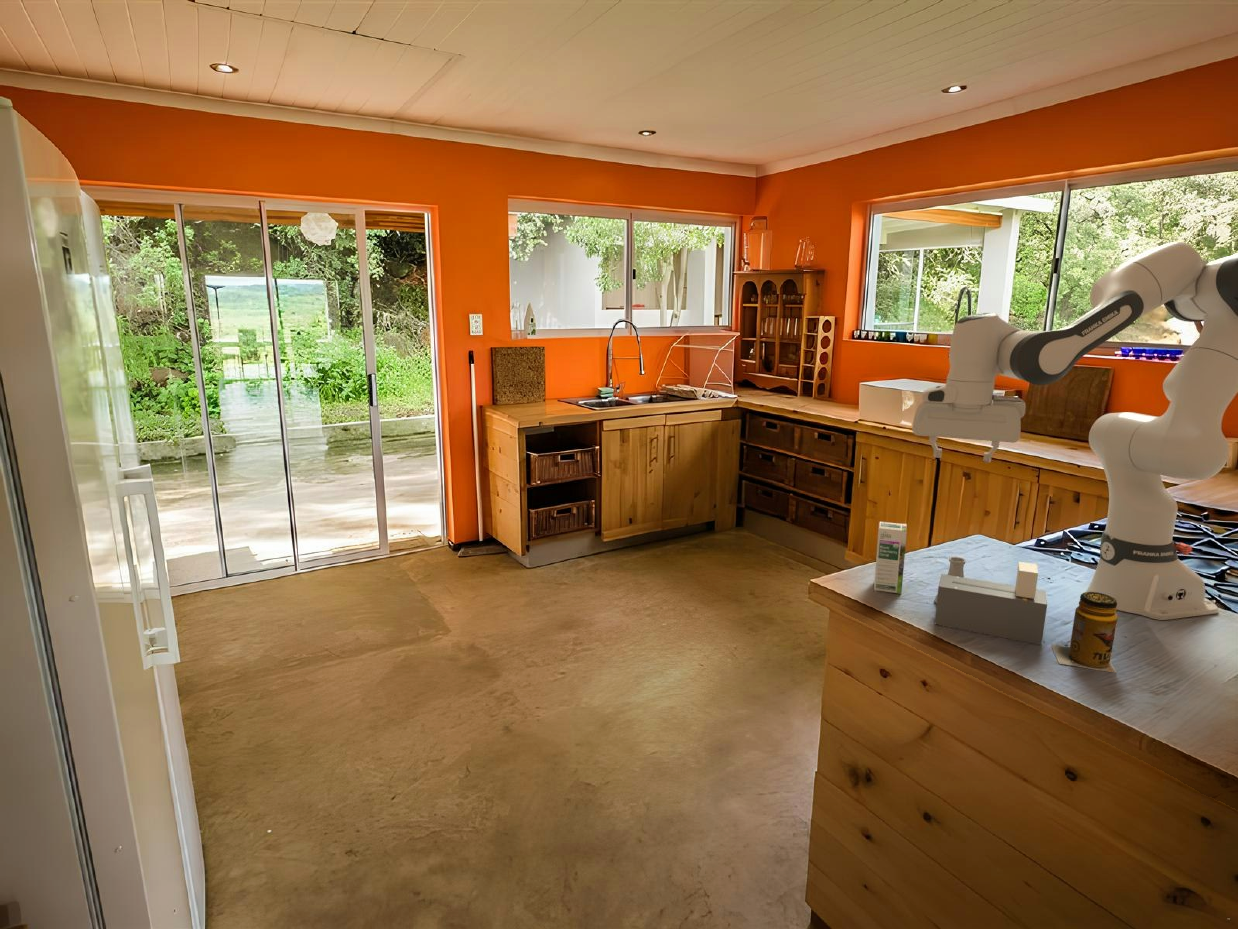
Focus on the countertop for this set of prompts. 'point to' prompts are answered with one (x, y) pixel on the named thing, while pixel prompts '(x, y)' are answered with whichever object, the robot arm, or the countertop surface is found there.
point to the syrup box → (890, 557)
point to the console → (990, 609)
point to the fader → (1026, 580)
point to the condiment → (1091, 633)
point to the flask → (955, 568)
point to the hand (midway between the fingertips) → (961, 459)
